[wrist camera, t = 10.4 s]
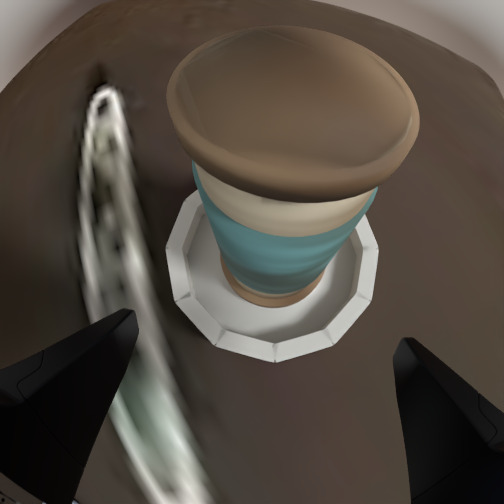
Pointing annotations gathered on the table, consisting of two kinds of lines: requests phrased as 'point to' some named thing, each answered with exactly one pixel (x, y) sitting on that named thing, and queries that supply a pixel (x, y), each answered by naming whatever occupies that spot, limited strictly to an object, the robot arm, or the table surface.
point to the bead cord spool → (287, 149)
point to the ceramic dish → (260, 318)
